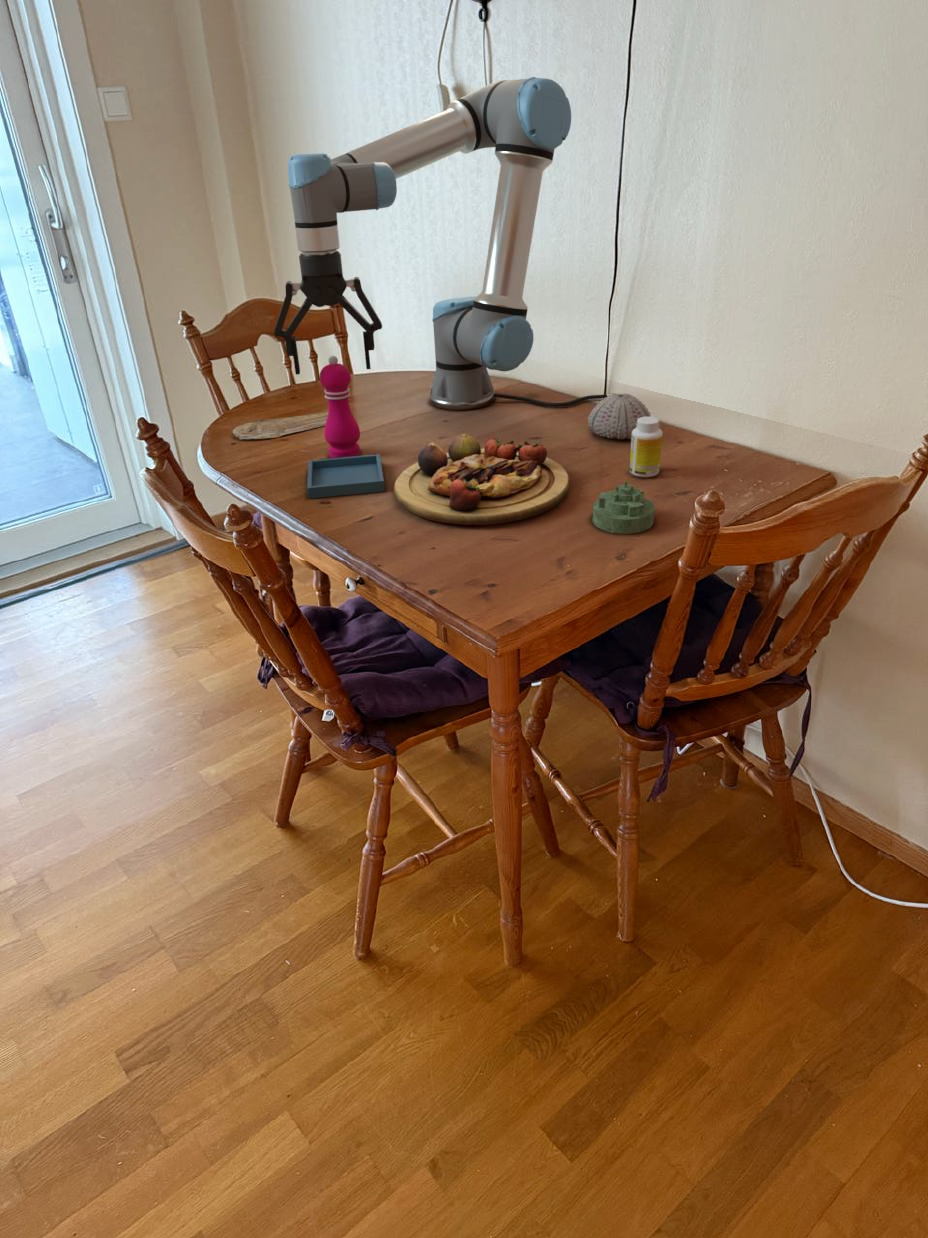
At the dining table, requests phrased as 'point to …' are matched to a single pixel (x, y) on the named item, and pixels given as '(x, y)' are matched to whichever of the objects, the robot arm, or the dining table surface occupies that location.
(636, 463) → the supplement bottle
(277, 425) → the fish fossil
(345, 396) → the pepper mill
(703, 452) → the dining table surface
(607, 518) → the decorative artifact
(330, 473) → the tray
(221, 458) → the dining table surface
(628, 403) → the sea urchin shell
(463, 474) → the wooden plate
